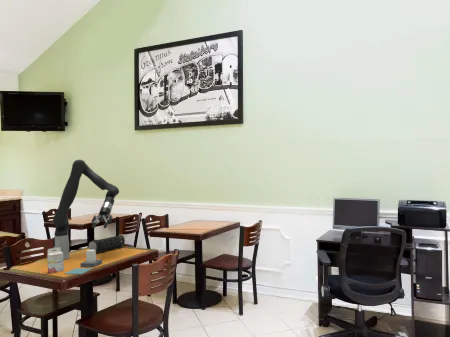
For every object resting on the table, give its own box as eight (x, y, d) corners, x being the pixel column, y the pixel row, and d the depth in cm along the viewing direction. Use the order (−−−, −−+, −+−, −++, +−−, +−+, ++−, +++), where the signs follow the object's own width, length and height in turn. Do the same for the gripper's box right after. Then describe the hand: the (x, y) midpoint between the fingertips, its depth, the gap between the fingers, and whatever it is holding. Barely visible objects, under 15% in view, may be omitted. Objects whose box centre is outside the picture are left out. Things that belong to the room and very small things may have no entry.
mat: (64, 274, 227) (64, 273, 227) (75, 268, 239) (75, 268, 239) (81, 274, 225) (81, 273, 225) (92, 268, 237) (92, 268, 237)
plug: (86, 266, 245) (85, 251, 245) (90, 264, 249) (89, 249, 249) (92, 266, 244) (92, 251, 244) (96, 264, 249) (95, 249, 249)
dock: (80, 267, 243) (80, 263, 243) (88, 263, 253) (88, 259, 253) (94, 267, 241) (94, 263, 241) (102, 263, 251) (101, 259, 251)
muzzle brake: (125, 247, 301) (124, 235, 301) (95, 255, 278) (95, 241, 278) (118, 246, 306) (117, 234, 306) (88, 253, 284) (87, 240, 284)
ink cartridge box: (49, 273, 230) (48, 250, 230) (47, 272, 234) (46, 249, 234) (64, 270, 236) (63, 247, 236) (61, 269, 240) (60, 246, 240)
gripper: (95, 206, 268) (87, 225, 257) (113, 206, 266) (106, 224, 254) (99, 213, 273) (91, 231, 262) (116, 212, 271) (110, 230, 260)
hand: (98, 227), depth 258 cm, fingers open, 8 cm apart
